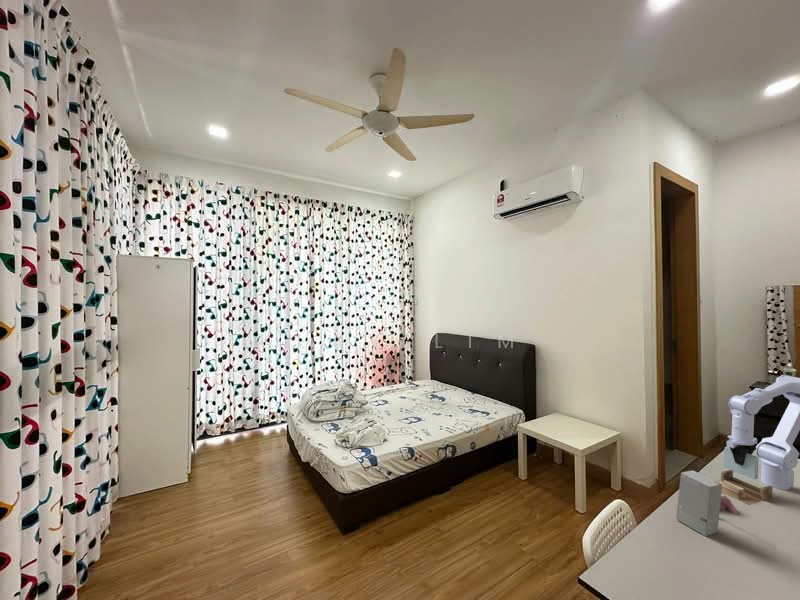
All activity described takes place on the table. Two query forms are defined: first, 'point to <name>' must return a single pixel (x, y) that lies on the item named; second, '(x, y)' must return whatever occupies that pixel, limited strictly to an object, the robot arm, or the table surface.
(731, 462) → the tall sheet
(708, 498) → the skincare box
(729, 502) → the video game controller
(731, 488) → the offcut stack
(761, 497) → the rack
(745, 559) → the table surface
